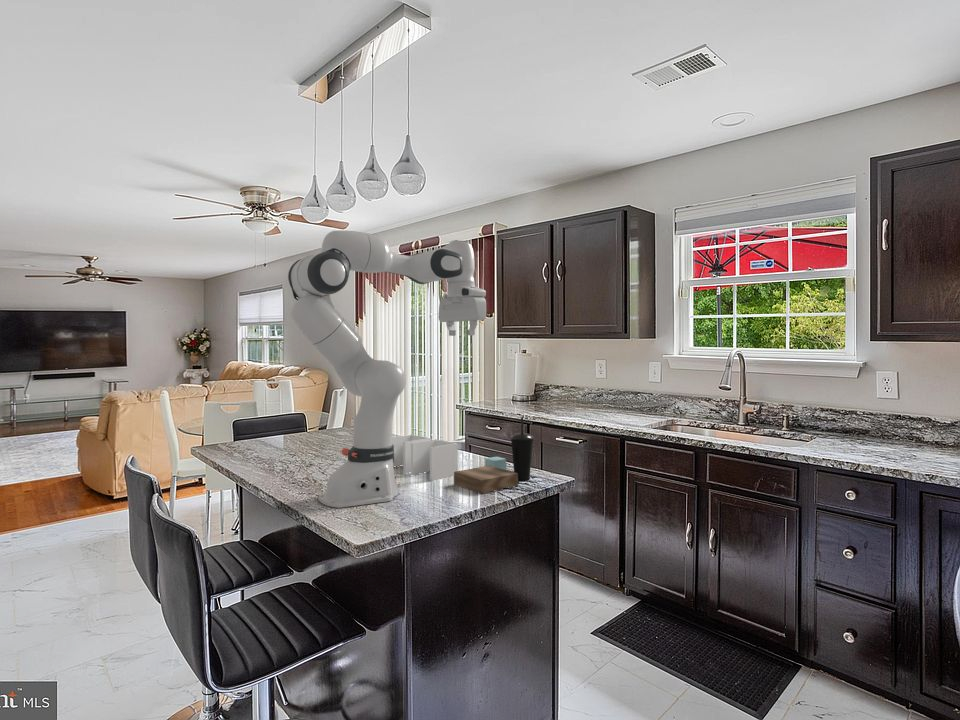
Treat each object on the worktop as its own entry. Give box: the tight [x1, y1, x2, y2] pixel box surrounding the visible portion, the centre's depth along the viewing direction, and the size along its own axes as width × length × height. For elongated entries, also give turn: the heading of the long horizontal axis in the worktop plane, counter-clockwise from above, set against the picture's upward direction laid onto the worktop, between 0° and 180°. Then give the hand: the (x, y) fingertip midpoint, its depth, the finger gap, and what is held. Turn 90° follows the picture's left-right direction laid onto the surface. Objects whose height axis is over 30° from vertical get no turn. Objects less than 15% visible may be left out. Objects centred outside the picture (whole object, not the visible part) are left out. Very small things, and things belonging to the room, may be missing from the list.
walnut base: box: [453, 466, 519, 494], centre depth 171 cm, size 14×14×4 cm
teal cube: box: [484, 456, 507, 470], centre depth 188 cm, size 5×5×5 cm
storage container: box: [392, 434, 459, 482], centre depth 189 cm, size 25×11×11 cm, turn 45°
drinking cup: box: [509, 416, 535, 482], centre depth 179 cm, size 8×8×20 cm
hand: (461, 335), depth 179 cm, fingers open, 8 cm apart
